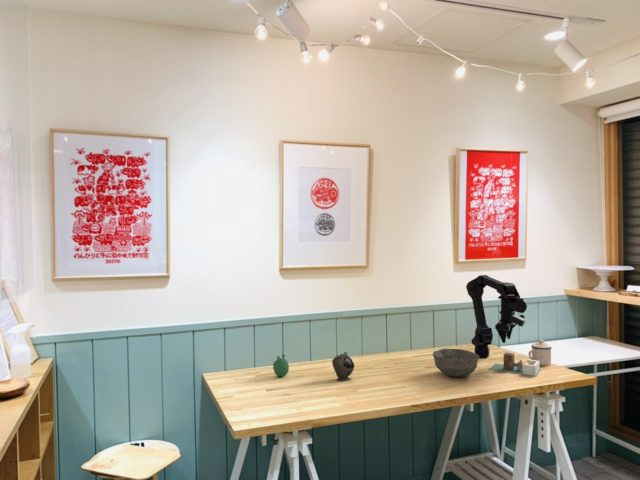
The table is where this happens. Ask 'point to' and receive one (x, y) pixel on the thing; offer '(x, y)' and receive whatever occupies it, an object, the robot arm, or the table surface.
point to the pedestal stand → (511, 362)
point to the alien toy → (281, 366)
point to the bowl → (455, 361)
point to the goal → (531, 367)
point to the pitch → (501, 369)
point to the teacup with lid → (541, 352)
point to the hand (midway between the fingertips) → (506, 340)
